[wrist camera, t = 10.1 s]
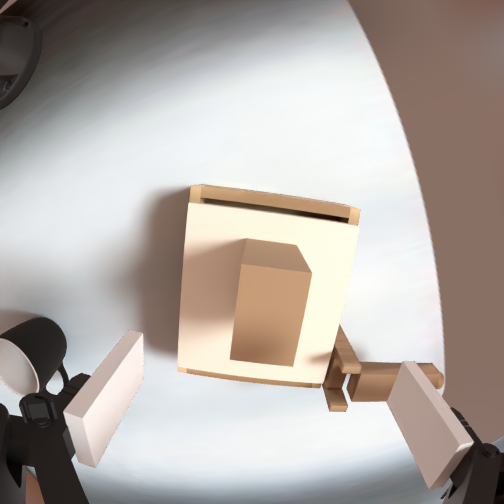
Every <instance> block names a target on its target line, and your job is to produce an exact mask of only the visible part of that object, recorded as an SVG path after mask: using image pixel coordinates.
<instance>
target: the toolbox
mask: <svg viewBox="0 0 504 504" xmlns="http://www.w3.org/2000/svg"><path fill="white" fill-rule="evenodd" d="M189 202H197V203H206V204H214V205H223V206H231V207H239V208H246V209H254V210H261V211H269V212H276V213H283V214H290V215H297V216H304V217H311V218H317V219H324V220H330V221H337V222H343V223H349V224H355V225H358V222H359V216H360V210H361V209H358V208H355V207H351V206H348V205H345V204H340V203H334V202H328V201H321V200H315V199H309V198H302V197H296V196H289V195H282V194H275V193H268V192H260V191H253V190H245V189H237V188H229V187H220V186H212V185H203V184H201V185H192V186H191V190H190V199H189ZM360 370H361V365H360V363H359V361H358V359H357V357H356V355H355V353H354V351H353V349H352V347H351V345H350V343H349V341H348V339H347V337H346V335H345V334H344V332H343V330H342V328H341V326H340V324H339V327H338V331H337V335H336V339H335V343H334V346H333V350H332V354H331V358H330V361H329V365H328V368H327V372H326V375H325V379H324V382H323V384H322V386H323V390H324V393H325V397H326V400H327V404H328V408H329V411H333V412H346V410H347V408H348V404H347V402H346V399H345V396H344V393H343V390H342V386H343V383H344V380H345V377H346V374H347V373H350V374H359V373H360ZM178 372H183V373H189V374H195V375H201V376H208V377H214V378H221V379H228V380H236V381H244V382H252V383H261V384H271V385H282V386H294V387H308V388H320V387H321V383H305V382H292V381H280V380H270V379H260V378H251V377H243V376H235V375H228V374H220V373H214V372H207V371H201V370H194V369H189V368H183V367H178Z"/></svg>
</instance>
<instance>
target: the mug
mask: <svg viewBox="0 0 504 504" xmlns="http://www.w3.org/2000/svg"><path fill="white" fill-rule="evenodd" d="M66 349H67V342H66V338H65V335H64V333H63V331H62V330H61V328H60V327H59V326H58V325H57V324H56V323H55V322H53V321H52V320H50V319H47V318H35V319H31V320H29V321H26V322H24V323H21V324H19V325H17V326H15V327H13V328H12V329H10V330H8V331H6V332H5V333H3V334H1V335H0V378H1V380H2V381H3V382H4V383H5V385H6V386H7V387H8V388H10V389H11V390H12V391H13V392H15V393H16V394H18V395H20V396H22V397H24V396H25V395H27V394H30V393H43V394H46V395H48V396H49V397H50V398H51V399H52V400H53V399H54V398H55V397H56V396H57V395H54V394H51V393H49V392H48V391H47V390H46V385H47V383H48V382H49V380H50V379H51V378H52V376H53V375H54V373H55V372H56V370H58V371H59V372H60V374H61V376H62V378H63V383H64V386H66V384H67V383H68V382H69V379H68V375H67V373H66V370H65V368H64V366H63V359H64V356H65V354H66ZM63 388H64V387H63Z"/></svg>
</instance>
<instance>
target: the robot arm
mask: <svg viewBox="0 0 504 504" xmlns="http://www.w3.org/2000/svg"><path fill="white" fill-rule="evenodd" d="M7 1H8V0H0V9H1V8H2V7H3V6H4V5H5V4H6V3H7ZM41 46H42V35H41V31H40V28H39V27H38V25H37V24H36V23H35V22H33V21H31V20H29V19H28V18H25V17H22V16H0V109H1V108H3V107H5V106H6V105H8V104H9V103H11V102H12V101H13V100H14V99H15V98H16V97H17V96H18V95H19V94H20V92H21V91H22V90H23V88H24V87H25V86H26V84H27V83H28V81H29V79H30V78H31V76H32V74H33V72H34V70H35V67H36V65H37V62H38V59H39V56H40V52H41ZM143 380H144V357H143V333H141V332H136V331H132V330H128V331H127V333H126V334H125V335H124V336H123V337H122V339H121V340H120V341H119V342H118V343H117V345H116V346H115V347H114V348H113V350H112V351H111V352H110V353H109V354H108V356H107V357H106V358H105V359H104V361H103V362H102V363H101V364H100V366H99V367H98V368H97V369H96V371H95V372H94V373H93V374H92V376H90V375H86V374H83V373H80V374H78V375H76V376H75V377H73V378H71V380H70V381H69V382H68V383H67V384H66V386H64V388H63V389H62V390H61V392H59V393H58V395H57V396H56V397H55V398H54V399H53V400H52V399H51V398H50V397H49V396H48V395H46V394H43V393H30V394H27V395H25V396H24V397H23V398H22V399H21V400H20V403H19V407H20V410H21V413H22V416H23V417H21V416H15V415H9V412H8V410H7V408H6V407H5V406H4V405H3V404H1V403H0V504H25V496H26V495H25V494H26V469H27V466H31V467H34V468H35V472H36V475H37V479H38V483H39V486H40V489H41V493H42V496H43V499H44V502H45V504H89V502H88V500H87V498H86V495H85V493H84V491H83V488H82V486H81V484H80V481H79V479H78V476H77V474H76V471H75V469H74V466H73V463H72V461H71V459H72V457H73V456H74V454H76V457H77V460H78V462H80V463H83V464H85V465H88V466H91V467H94V468H96V467H97V465H98V463H99V461H100V459H101V457H102V455H103V453H104V452H105V450H106V448H107V446H108V444H109V442H110V440H111V438H112V436H113V435H114V433H115V431H116V429H117V427H118V425H119V423H120V422H121V420H122V418H123V416H124V414H125V412H126V411H127V409H128V407H129V405H130V403H131V401H132V400H133V398H134V396H135V394H136V392H137V390H138V389H139V387H140V385H141V383H142V381H143ZM387 404H388V406H389V408H390V410H391V412H392V414H393V416H394V418H395V420H396V422H397V424H398V426H399V428H400V430H401V432H402V434H403V436H404V438H405V440H406V442H407V444H408V446H409V448H410V450H411V453H412V455H413V457H414V459H415V461H416V463H417V465H418V467H419V469H420V471H421V473H422V476H423V478H424V480H425V482H426V484H427V486H428V488H429V489H433V488H438V487H442V486H444V484H445V483H446V482H447V480H448V479H449V478H451V480H452V482H453V483H452V484H451V485H450V487H449V488H448V489H447V490H446V492H445V493H444V494H443V495H442V497H441V499H443V498H444V497H445V496H446V497H445V499H444V502H443V504H504V453H501V452H500V451H499V449H498V448H497V447H496V446H494V445H492V444H488V443H484V444H483V443H482V442H481V441H480V439H479V438H478V437H477V435H476V434H475V432H474V431H473V430H472V428H471V427H469V424H468V423H467V421H465V419H464V417H463V416H462V415H461V413H459V412H458V411H457V410H456V409H454V408H449V406H448V405H447V404H446V402H445V401H444V399H443V398H442V397H441V395H440V394H439V393H438V391H437V390H436V389H435V387H434V386H433V385H432V383H431V382H430V381H429V379H428V378H427V377H426V375H425V374H424V373H423V371H422V370H421V369H420V368H419V366H418V365H417V364H416V362H415V361H403V362H402V364H401V367H400V370H399V373H398V375H397V378H396V380H395V383H394V386H393V388H392V391H391V393H390V396H389V398H388V400H387Z"/></svg>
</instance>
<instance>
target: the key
mask: <svg viewBox="0 0 504 504" xmlns="http://www.w3.org/2000/svg"><path fill="white" fill-rule="evenodd" d="M359 363H360V365H361V370H360V373H359V374H351V376H350V379H349V382H348V385H347V391H348V394H349V396H350V399H351V401H352V402H379V401H387V400H388V398H389V396H390V393H391V391H392V388H393V386H394V383H395V380H396V378H397V375H398V373H399V370H400V367H401V364H402V363H382V362H359ZM416 364H417V365H418V366H419V368H420V369H421V370H422V371H423V373H424V374H425V375H426V377H427V378H428V379H429V381H430V382H431V383H432V385H433V386H434V387H435V389H440V388H441V387H442V386H443V383H444V376H443V374H442V373H441V372H439V371H438V369H437V368H436V367H435V366H434V365H433V363H416Z"/></svg>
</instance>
